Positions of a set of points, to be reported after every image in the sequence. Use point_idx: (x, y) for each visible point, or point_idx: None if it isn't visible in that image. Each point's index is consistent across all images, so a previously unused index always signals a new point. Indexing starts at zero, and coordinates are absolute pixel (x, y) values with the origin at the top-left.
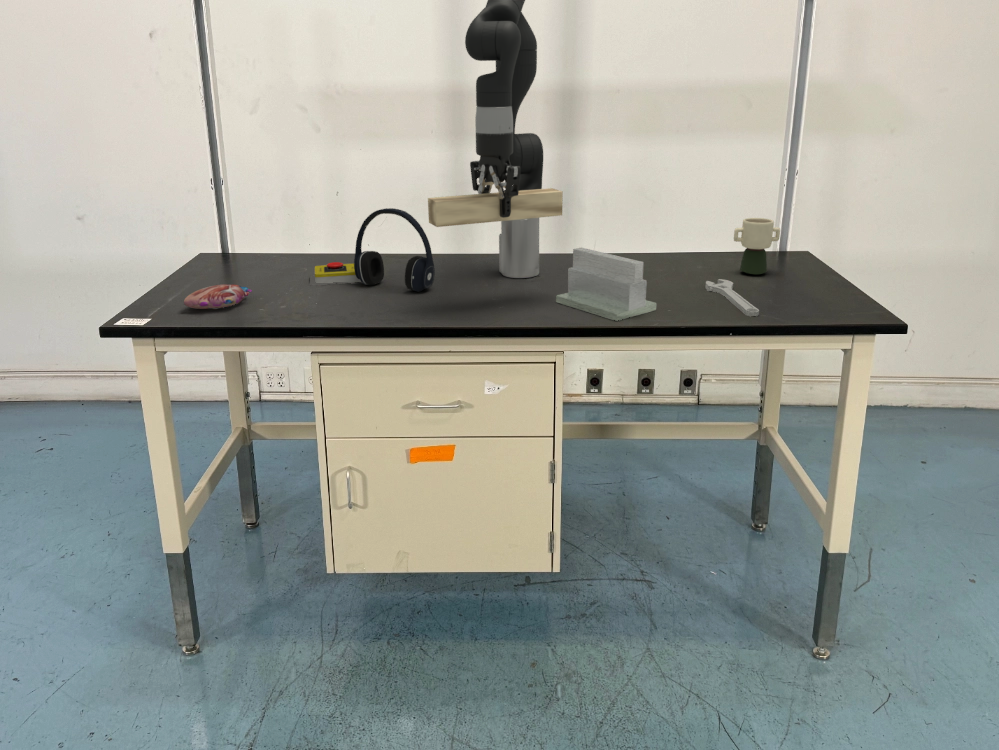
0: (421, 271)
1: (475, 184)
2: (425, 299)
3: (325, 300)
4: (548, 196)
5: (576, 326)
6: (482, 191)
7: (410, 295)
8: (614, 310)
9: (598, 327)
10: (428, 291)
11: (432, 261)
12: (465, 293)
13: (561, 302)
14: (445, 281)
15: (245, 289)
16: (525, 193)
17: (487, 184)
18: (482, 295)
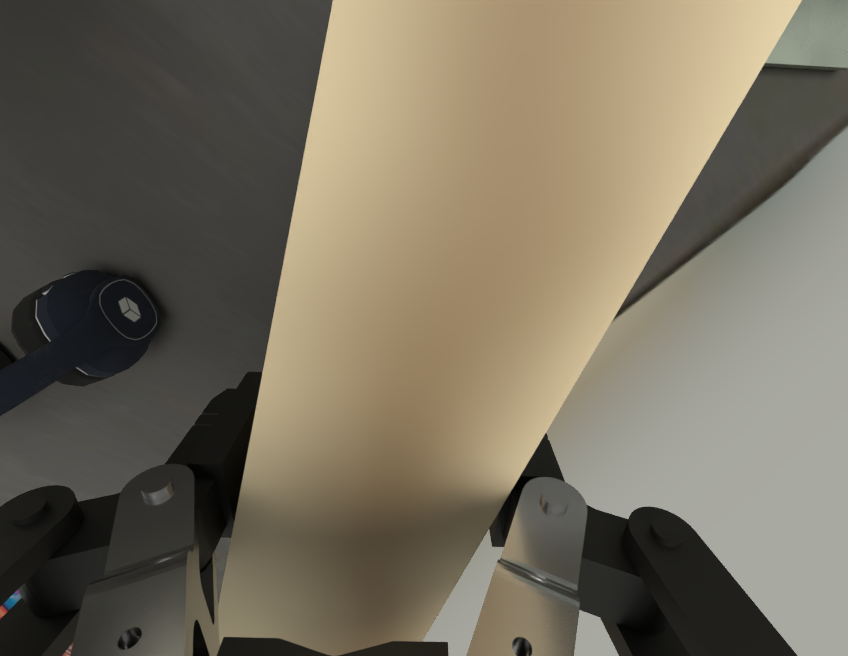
0: (127, 349)
1: (68, 639)
2: (230, 342)
3: (112, 492)
4: None
5: (733, 210)
6: (215, 571)
7: (168, 347)
8: (835, 34)
9: (799, 169)
10: (152, 289)
11: (89, 316)
12: (235, 220)
13: None
14: (48, 170)
15: (14, 595)
16: (559, 267)
17: (208, 622)
18: (289, 194)
